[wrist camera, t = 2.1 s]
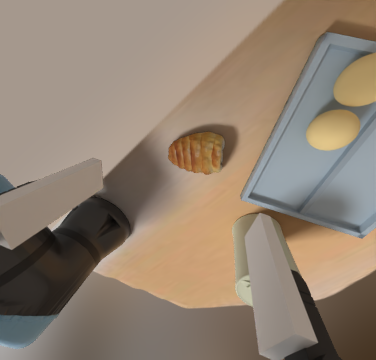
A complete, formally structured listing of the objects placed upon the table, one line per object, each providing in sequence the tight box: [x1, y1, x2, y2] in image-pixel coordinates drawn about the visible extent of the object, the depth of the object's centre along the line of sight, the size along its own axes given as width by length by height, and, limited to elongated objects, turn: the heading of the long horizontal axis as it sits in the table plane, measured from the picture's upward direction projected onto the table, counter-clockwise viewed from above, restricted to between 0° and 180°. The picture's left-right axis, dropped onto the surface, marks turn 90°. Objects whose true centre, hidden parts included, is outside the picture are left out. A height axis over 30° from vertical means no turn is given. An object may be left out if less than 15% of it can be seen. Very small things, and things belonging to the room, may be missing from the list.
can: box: [232, 214, 302, 307], centre depth 25 cm, size 9×9×12 cm
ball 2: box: [306, 109, 361, 151], centre depth 18 cm, size 5×5×5 cm
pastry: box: [168, 132, 225, 175], centre depth 24 cm, size 9×7×4 cm
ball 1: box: [333, 53, 376, 107], centre depth 15 cm, size 5×5×5 cm
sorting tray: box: [240, 32, 376, 238], centre depth 20 cm, size 20×22×2 cm
